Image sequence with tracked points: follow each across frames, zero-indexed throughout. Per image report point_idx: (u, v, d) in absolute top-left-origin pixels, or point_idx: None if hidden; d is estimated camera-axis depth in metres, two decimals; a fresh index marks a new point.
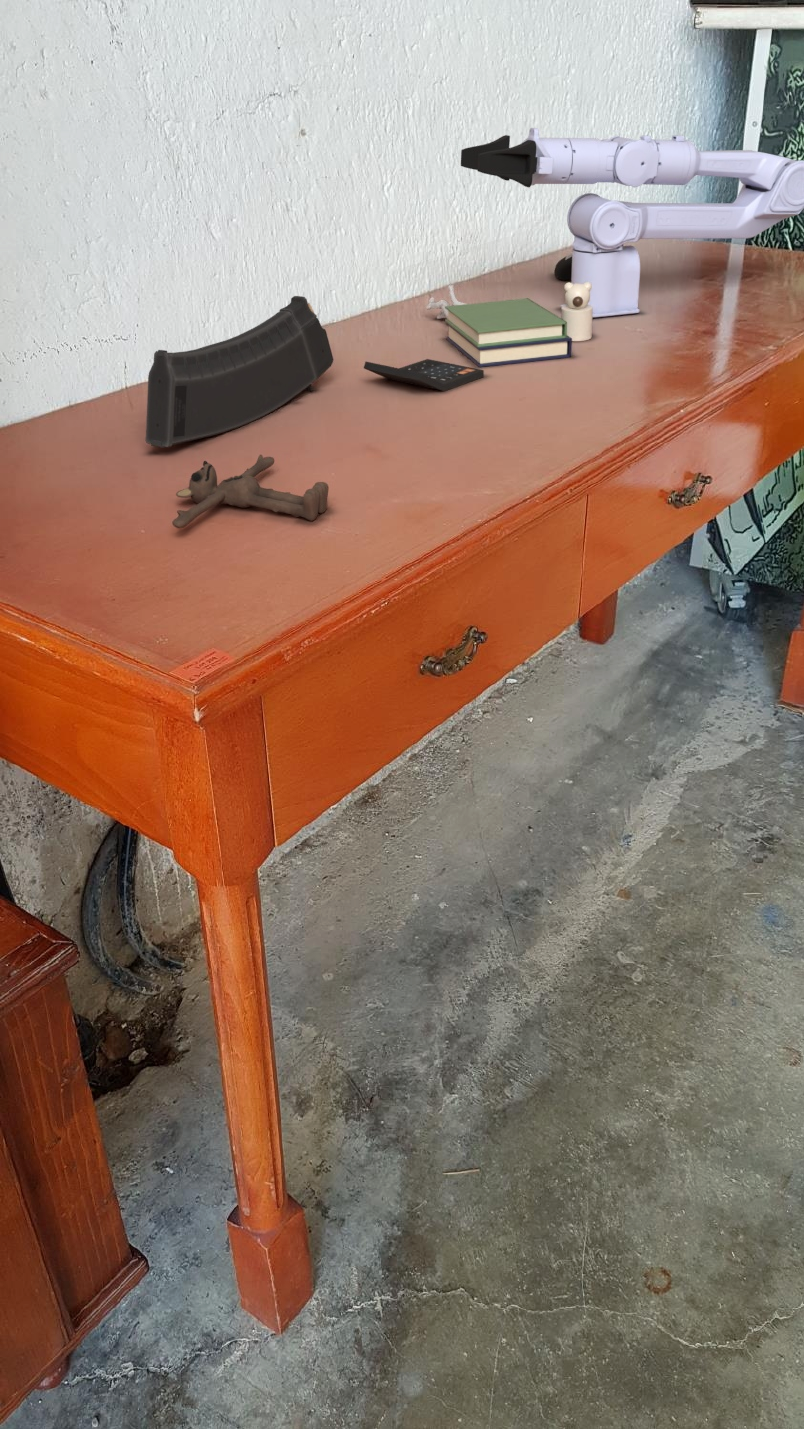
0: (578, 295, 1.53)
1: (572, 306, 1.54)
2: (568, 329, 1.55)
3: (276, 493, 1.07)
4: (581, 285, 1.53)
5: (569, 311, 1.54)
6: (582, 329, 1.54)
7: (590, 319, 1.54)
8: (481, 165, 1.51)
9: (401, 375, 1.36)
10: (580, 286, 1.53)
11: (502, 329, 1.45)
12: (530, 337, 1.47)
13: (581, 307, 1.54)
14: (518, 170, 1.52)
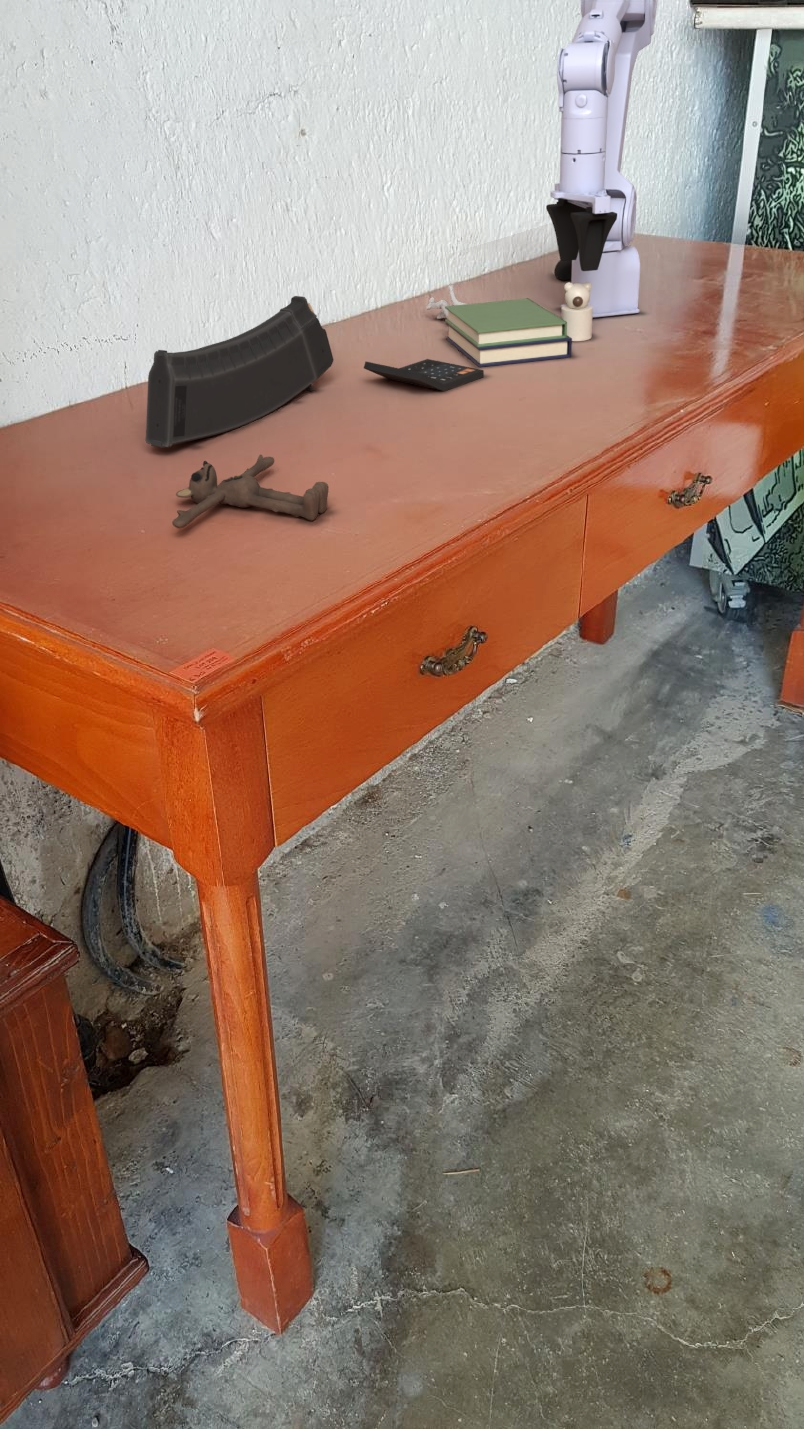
0: (578, 295, 1.53)
1: (572, 306, 1.54)
2: (568, 329, 1.55)
3: (276, 493, 1.07)
4: (581, 285, 1.53)
5: (569, 311, 1.54)
6: (582, 329, 1.54)
7: (590, 319, 1.54)
8: (592, 268, 1.48)
9: (401, 375, 1.36)
10: (580, 286, 1.53)
11: (502, 329, 1.45)
12: (530, 337, 1.47)
13: (581, 307, 1.54)
14: (598, 225, 1.46)
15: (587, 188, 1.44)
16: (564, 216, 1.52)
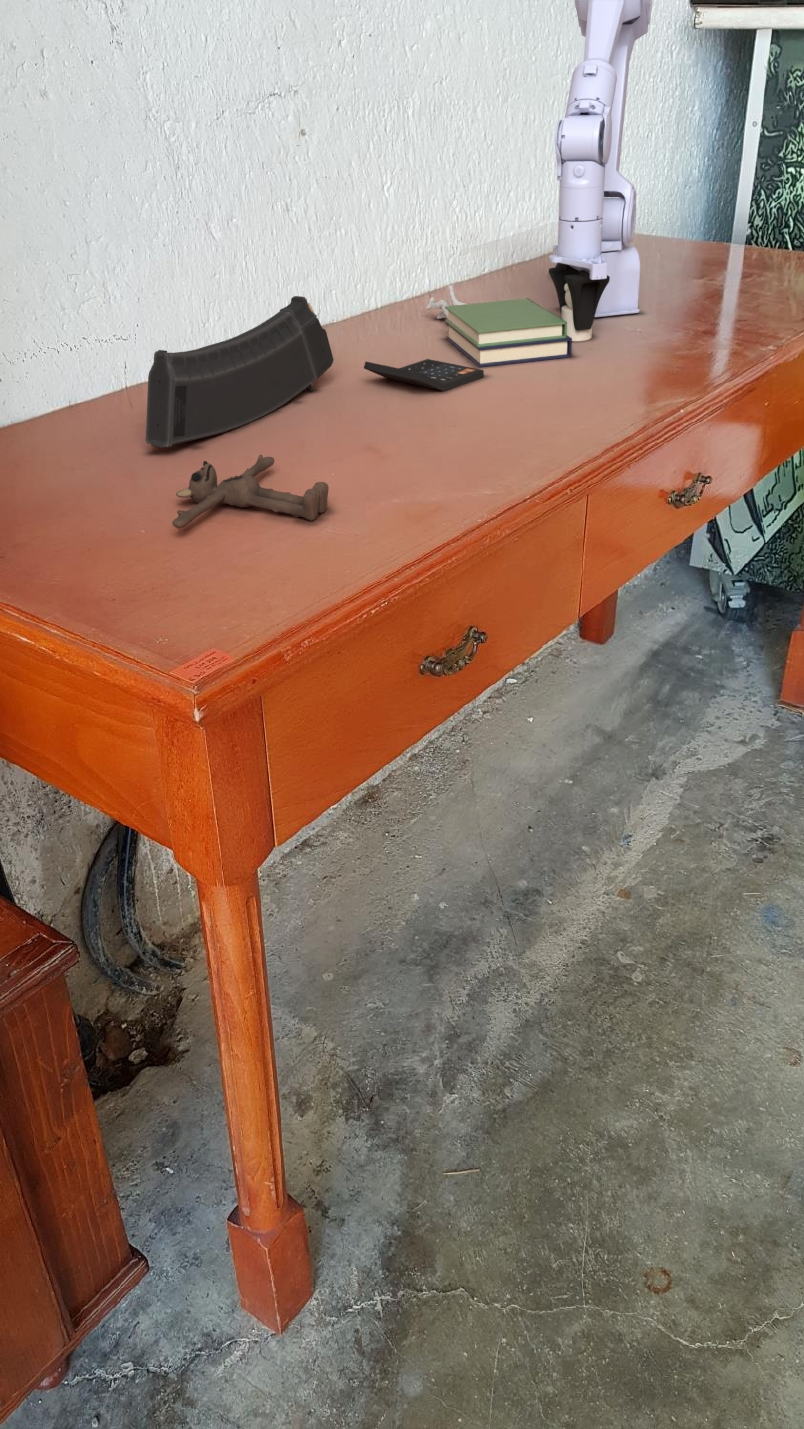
0: None
1: None
2: (568, 329, 1.55)
3: (276, 493, 1.07)
4: None
5: (569, 311, 1.53)
6: None
7: None
8: (586, 327, 1.54)
9: (401, 375, 1.36)
10: None
11: (502, 329, 1.45)
12: (530, 337, 1.47)
13: None
14: (591, 287, 1.51)
15: (584, 253, 1.49)
16: None
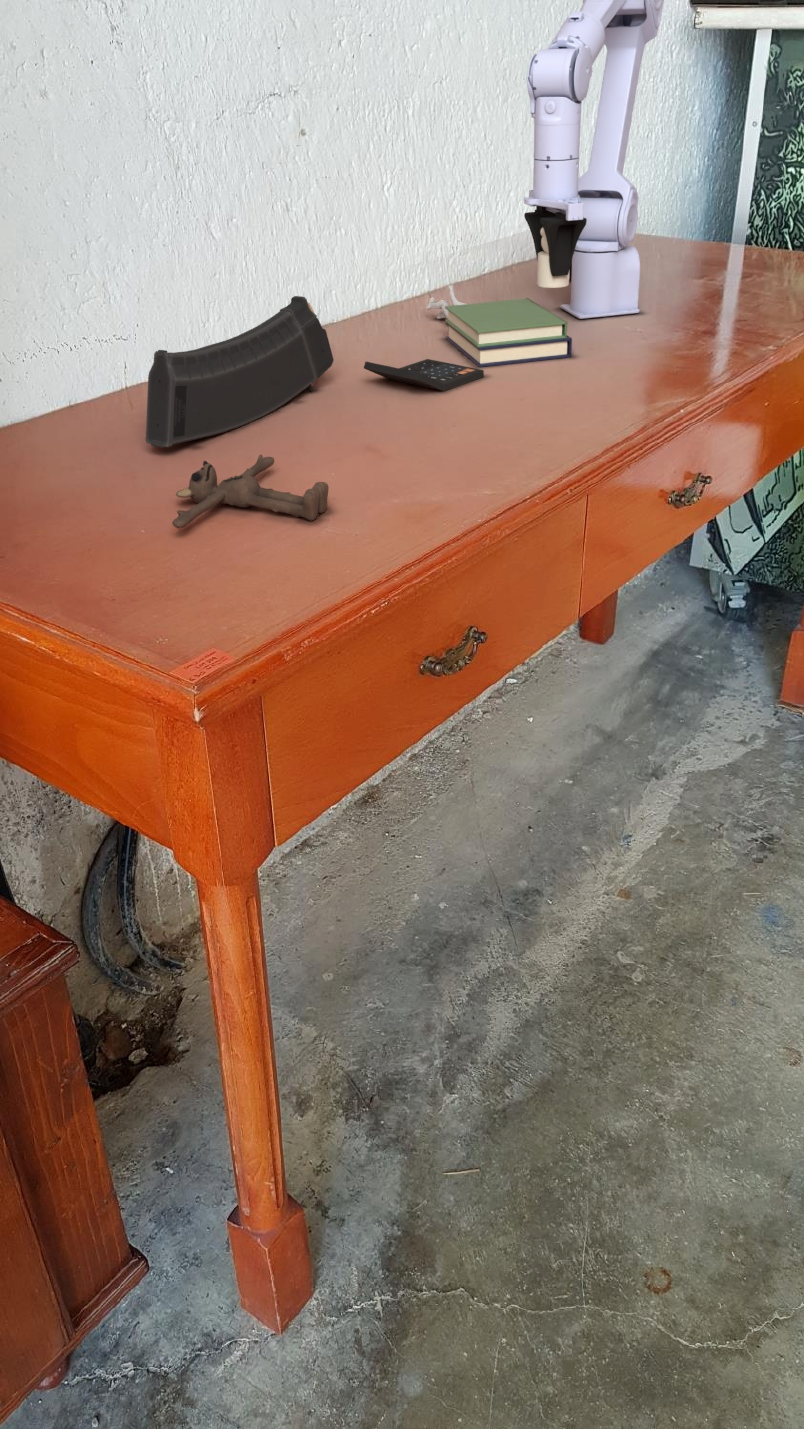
0: None
1: (548, 251, 1.49)
2: (545, 275, 1.50)
3: (276, 493, 1.07)
4: None
5: (545, 256, 1.49)
6: None
7: None
8: (562, 273, 1.49)
9: (401, 375, 1.36)
10: None
11: (502, 329, 1.45)
12: (530, 337, 1.47)
13: None
14: (568, 230, 1.46)
15: (560, 194, 1.44)
16: None
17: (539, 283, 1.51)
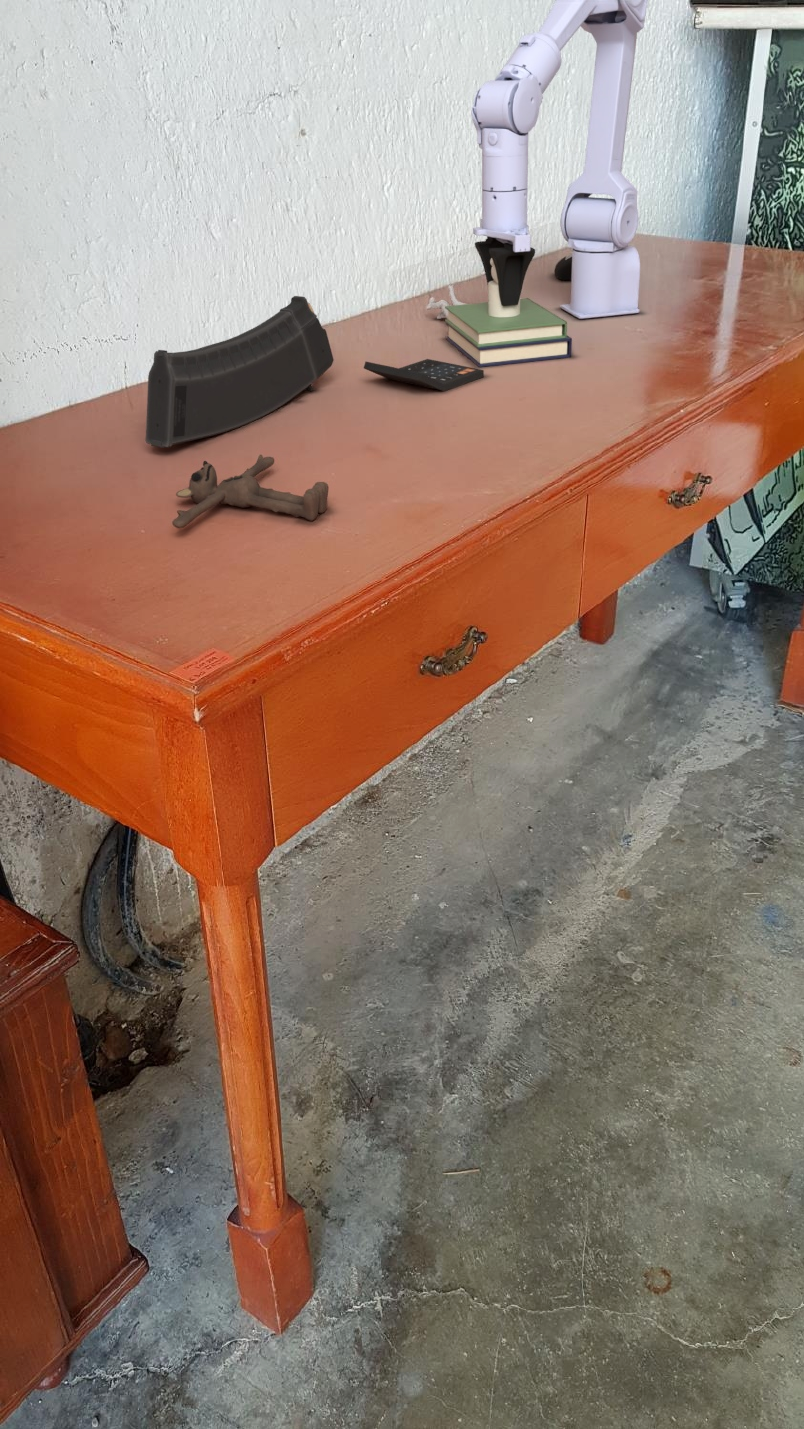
0: None
1: None
2: (495, 305, 1.49)
3: (276, 493, 1.07)
4: None
5: (495, 286, 1.48)
6: None
7: None
8: (512, 303, 1.48)
9: (401, 375, 1.36)
10: None
11: (502, 329, 1.45)
12: (530, 337, 1.47)
13: None
14: (517, 261, 1.46)
15: (508, 225, 1.43)
16: None
17: (490, 312, 1.51)
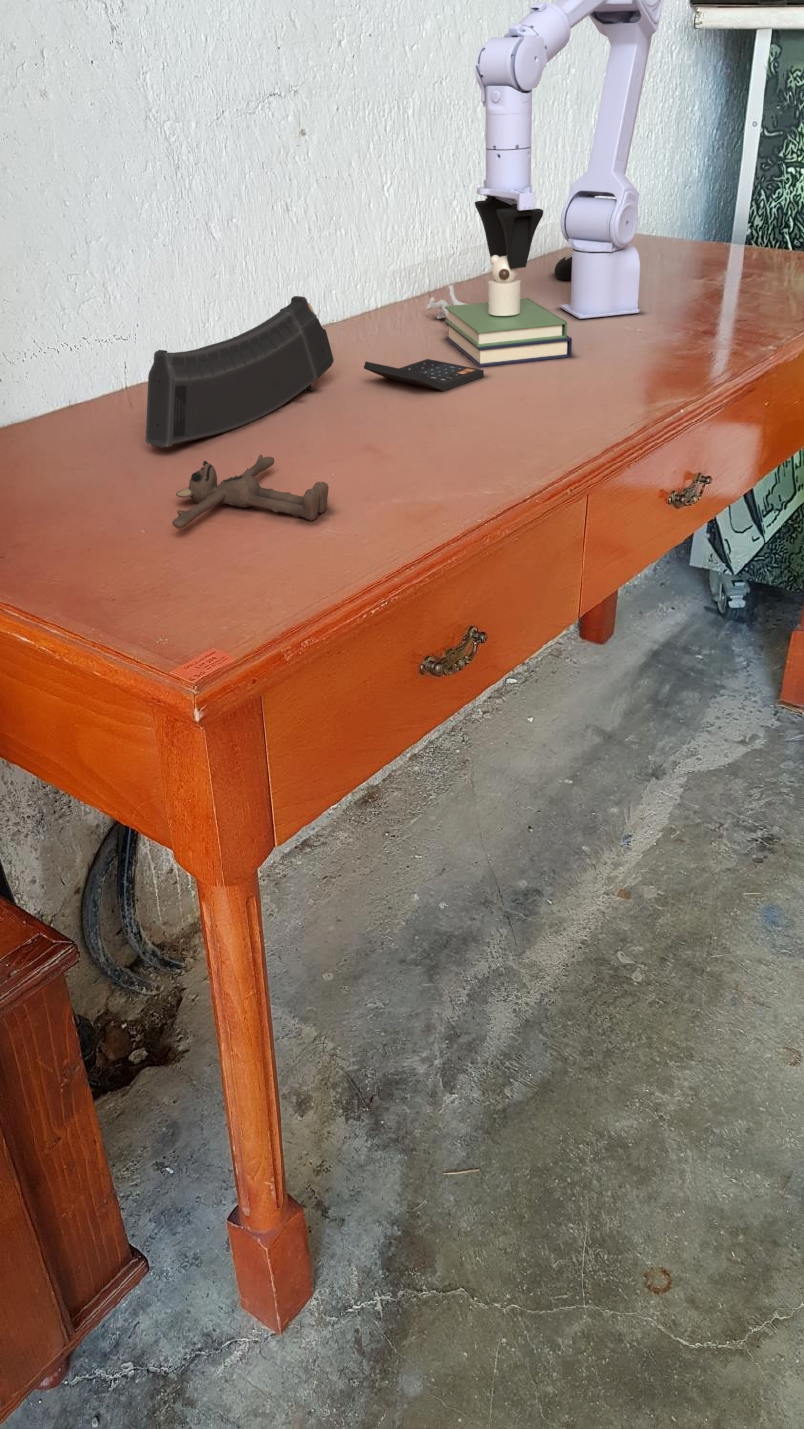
0: (504, 268, 1.47)
1: (498, 279, 1.48)
2: (495, 303, 1.49)
3: (276, 493, 1.07)
4: None
5: (495, 284, 1.48)
6: (509, 303, 1.49)
7: (517, 293, 1.49)
8: (520, 265, 1.47)
9: (401, 375, 1.36)
10: (506, 258, 1.47)
11: (502, 329, 1.45)
12: (530, 337, 1.47)
13: (508, 280, 1.49)
14: (525, 222, 1.44)
15: (512, 184, 1.43)
16: (492, 213, 1.51)
17: (490, 311, 1.51)
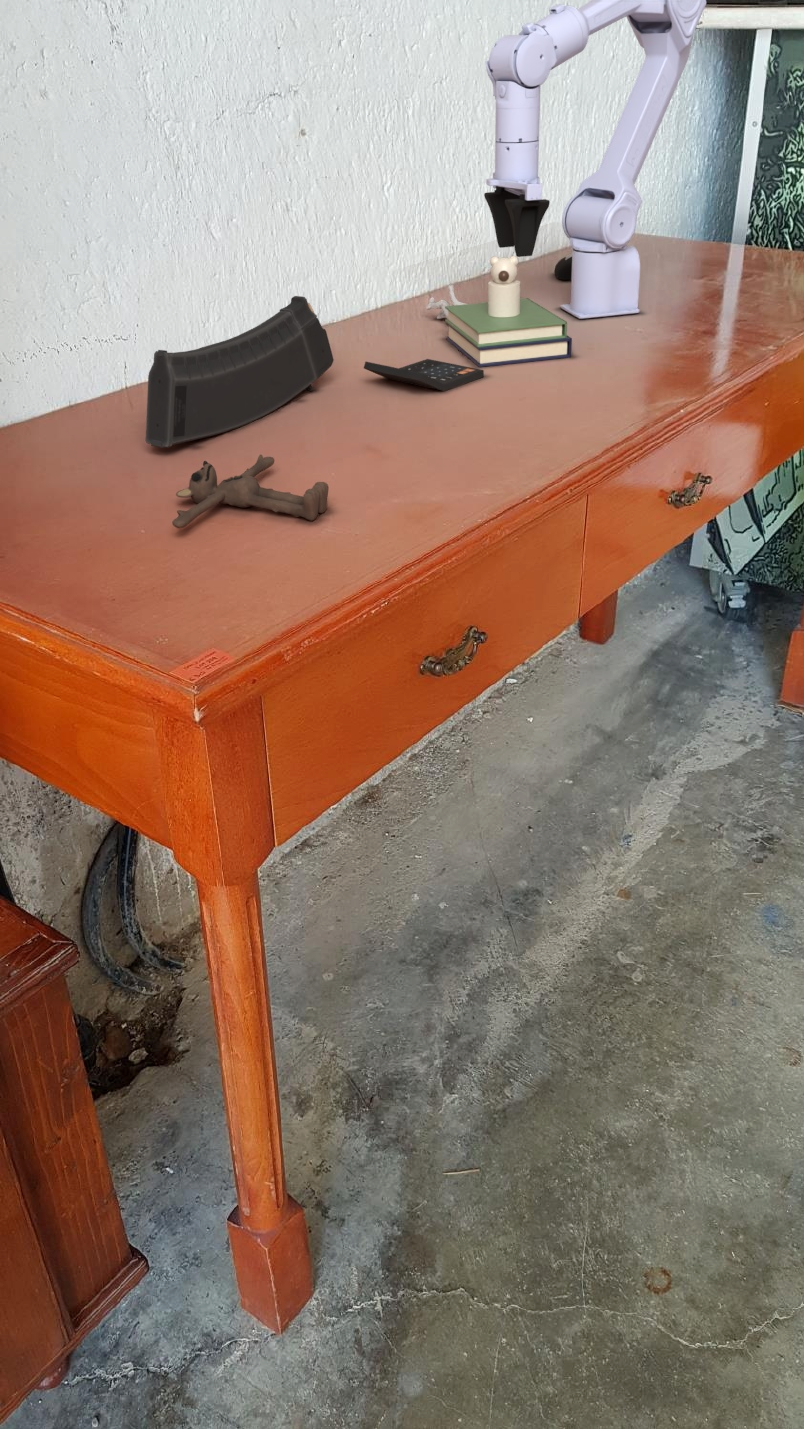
0: (504, 270, 1.47)
1: (498, 281, 1.48)
2: (494, 305, 1.49)
3: (276, 493, 1.07)
4: (507, 259, 1.47)
5: (495, 286, 1.48)
6: (509, 304, 1.49)
7: (517, 294, 1.49)
8: (527, 253, 1.53)
9: (401, 375, 1.36)
10: (506, 260, 1.47)
11: (502, 329, 1.45)
12: (530, 337, 1.47)
13: (507, 282, 1.48)
14: (532, 212, 1.51)
15: (520, 176, 1.49)
16: (501, 204, 1.57)
17: (489, 312, 1.51)
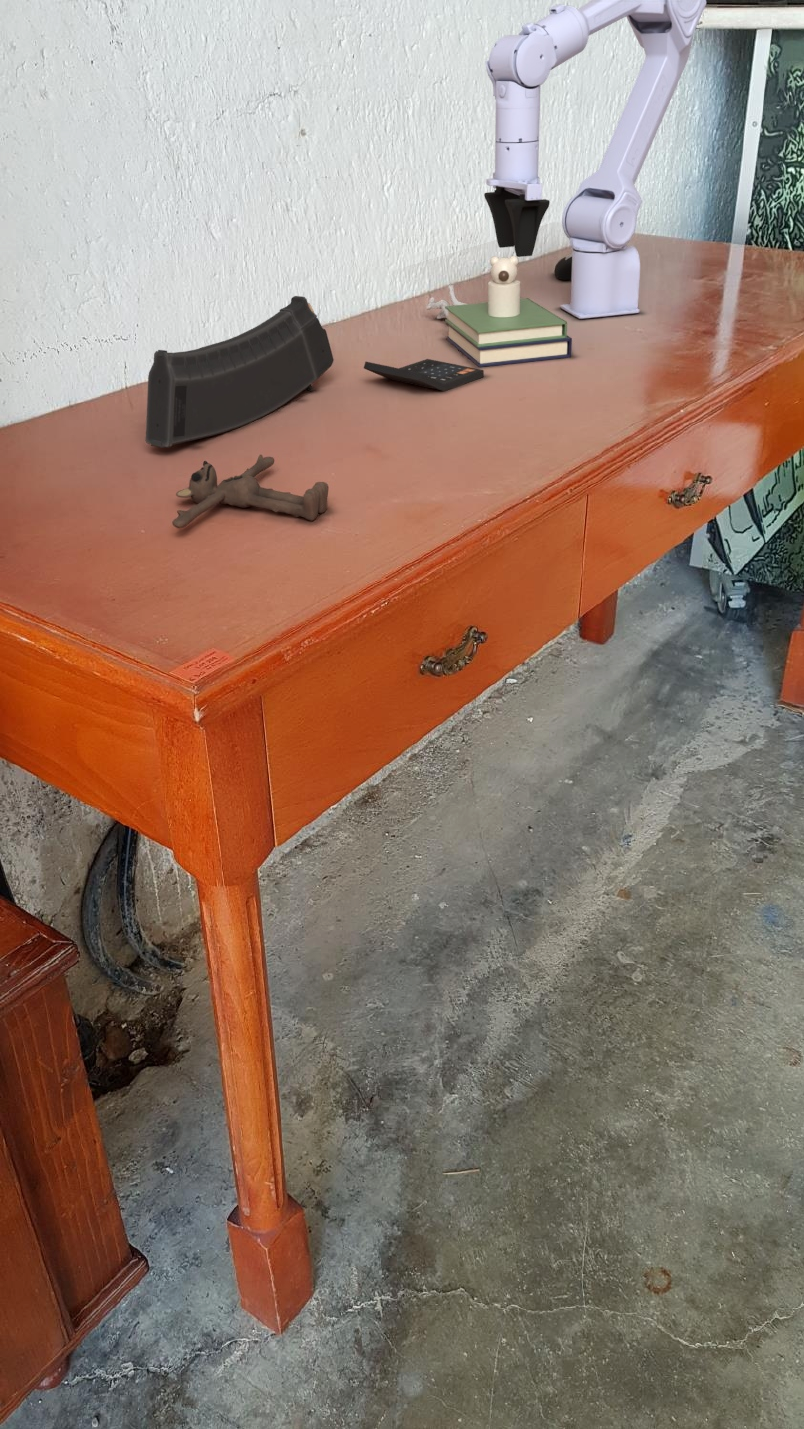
0: (504, 270, 1.47)
1: (498, 281, 1.48)
2: (494, 305, 1.49)
3: (276, 493, 1.07)
4: (507, 259, 1.47)
5: (495, 286, 1.48)
6: (509, 304, 1.49)
7: (517, 294, 1.49)
8: (527, 253, 1.53)
9: (401, 375, 1.36)
10: (506, 260, 1.47)
11: (502, 329, 1.45)
12: (530, 337, 1.47)
13: (507, 282, 1.48)
14: (532, 212, 1.51)
15: (520, 176, 1.49)
16: (501, 204, 1.57)
17: (489, 312, 1.51)
